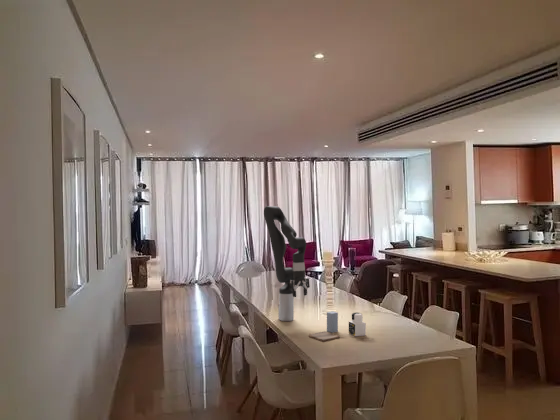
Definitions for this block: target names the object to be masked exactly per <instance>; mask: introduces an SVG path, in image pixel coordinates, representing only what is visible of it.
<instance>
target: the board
mask: <svg viewBox="0 0 560 420" xmlns="http://www.w3.org/2000/svg"><path fill="white" fill-rule="evenodd" d="M308 337H309V338H312V339H315V340H316V341H320V342H323V343H324V342H329V341H333V340H336V339H340V335H337V334H334V333H331V332H328V331H325V330H324V331H320V332H316V333H312V334H310V333H309V334H308Z"/></svg>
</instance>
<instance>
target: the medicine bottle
mask: <svg viewBox="0 0 560 420" xmlns="http://www.w3.org/2000/svg"><path fill="white" fill-rule="evenodd" d="M363 317H364V315H363V313H361V312H353V313H351V320H348V333H349V334H350V335H352V336H354V337H360V336H361V337H363V336H366V333H367V332H366V329H367V327H366V326H367V325H366V324H367V323H366V322H365V321H363Z"/></svg>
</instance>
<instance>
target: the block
mask: <svg viewBox="0 0 560 420" xmlns="http://www.w3.org/2000/svg"><path fill="white" fill-rule="evenodd" d="M338 321H339V313H338V312H336V311H327V312H326V332H329V333H332V334H334V333H337V332H339V330H338V329H339V322H338Z"/></svg>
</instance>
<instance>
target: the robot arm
mask: <svg viewBox="0 0 560 420" xmlns="http://www.w3.org/2000/svg"><path fill="white" fill-rule="evenodd" d="M263 217H264V220H265V223H266V227H267V231H268V235H269V240H270V244H271V250H272V253H273V260H274V267H275V274H276V278H277V281H278V283H280V284H284V285H282V286H281V287H280V288H279V291H278V294H279V297H278V302H279V303H278V311H277V312H278V313H277V315H278V316H277V317H278V320H279V321H281V322H293V321H294V317H295V316H294V315H295V314H294V313H295V311H294V309H295V307H294V303H295V302H294V300H295V299H294V298H296V297H297V289H298V287H302V288H303V296H307V295H308V289H310V286H311V285H310V278H308V277H306V266H305V265H306V264H305V253H306V248H307V241H306V239H305V237H299V236H298V235H297V232H296V230H295V229H294V228H293V226H292V225H291V224H290V222H289V220H288V219H287V217H286V216H285V213H284V212H283V210H282V208H280V207H279V206H276V205H267V206H265V207H264V208H263ZM275 221H278V223H280V230H279V229H278V227H277V225H276V222H275ZM297 236H298V237H297ZM285 238H286V240H287V242H288V245H289V247H290V248H291V249H293V250H297V251H296V252H295V253H293V254H292V267H285V265H284V256H285V254H286V249H287V244H286V240H285Z"/></svg>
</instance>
